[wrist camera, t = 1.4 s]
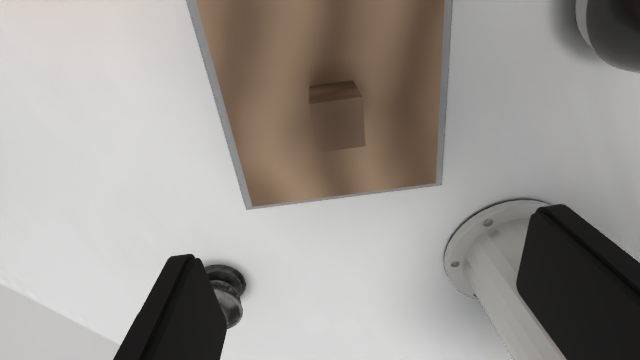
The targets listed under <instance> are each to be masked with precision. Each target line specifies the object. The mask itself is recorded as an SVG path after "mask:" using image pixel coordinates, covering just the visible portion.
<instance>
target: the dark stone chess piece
mask: <svg viewBox="0 0 640 360" xmlns="http://www.w3.org/2000/svg"><path fill="white" fill-rule="evenodd" d="M205 271H206V273H207V275H208V278H209V280H210V283H211V285H212V287H213V290H214V292H215V294H216V297H217V299H218V302H219V304H220V306H221V309H222V311H223V313H224V316H225V318H226V322H227V329H229V328H231V327H233V326H235V325H236V324H237V323H238V322H239V321H240V320H241V318H242V314H243V309H242V306H241V301H240V296H241V295H242V294H243V292H244V290H245V286H246V283H245V279H244V277H243V276H242V274H240V273H239V272H238V271H237V270H235V269H233V268H231V267H228V266H225V265H211V266H208V267H205Z"/></svg>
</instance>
